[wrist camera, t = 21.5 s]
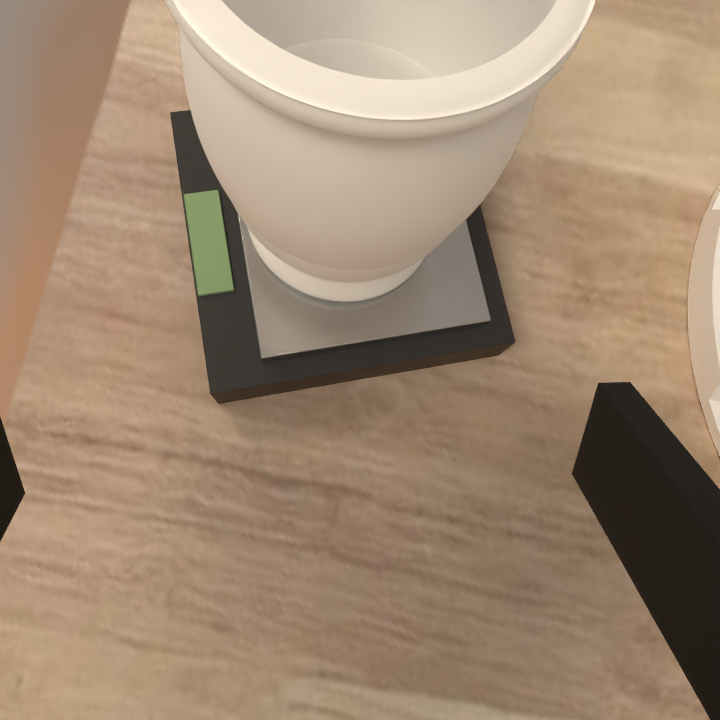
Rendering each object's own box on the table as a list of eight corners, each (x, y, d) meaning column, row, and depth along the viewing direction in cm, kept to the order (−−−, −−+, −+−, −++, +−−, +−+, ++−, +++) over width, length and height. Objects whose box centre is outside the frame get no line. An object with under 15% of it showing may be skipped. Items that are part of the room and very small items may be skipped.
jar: (178, 252, 27) (38, -39, 13) (296, 80, 30) (291, -325, 15) (389, 369, 27) (492, 206, 12) (490, 185, 30) (673, -129, 15)
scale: (179, 141, 32) (169, 109, 30) (438, 111, 34) (449, 78, 32) (217, 404, 29) (209, 393, 27) (499, 355, 31) (517, 341, 29)
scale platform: (222, 123, 30) (221, 113, 29) (430, 99, 31) (434, 89, 30) (262, 362, 27) (260, 358, 27) (486, 325, 29) (491, 320, 28)
